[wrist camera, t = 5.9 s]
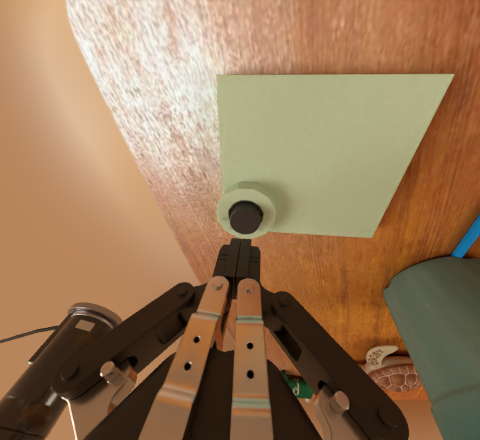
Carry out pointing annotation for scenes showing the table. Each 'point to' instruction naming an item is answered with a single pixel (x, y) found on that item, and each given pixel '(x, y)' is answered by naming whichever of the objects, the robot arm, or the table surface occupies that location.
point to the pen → (468, 239)
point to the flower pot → (443, 337)
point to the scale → (320, 146)
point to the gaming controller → (299, 387)
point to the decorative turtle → (391, 369)
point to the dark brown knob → (245, 218)
